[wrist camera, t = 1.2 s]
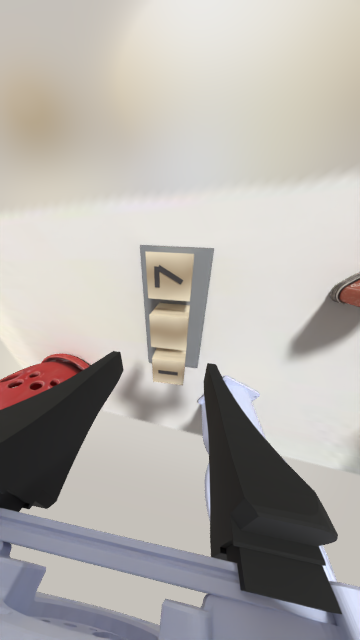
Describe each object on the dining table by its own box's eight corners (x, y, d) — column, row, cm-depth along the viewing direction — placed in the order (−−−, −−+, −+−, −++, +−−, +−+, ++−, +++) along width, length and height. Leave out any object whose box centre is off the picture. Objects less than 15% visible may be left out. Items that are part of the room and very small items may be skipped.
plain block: (187, 332, 21) (185, 350, 17) (159, 329, 21) (151, 346, 17) (190, 305, 19) (188, 318, 15) (159, 302, 19) (149, 315, 15)
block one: (185, 363, 24) (182, 385, 20) (160, 360, 24) (153, 381, 20) (186, 342, 22) (184, 362, 18) (160, 339, 22) (151, 359, 18)
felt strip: (197, 366, 24) (197, 368, 24) (149, 360, 25) (148, 362, 24) (213, 248, 16) (214, 248, 15) (141, 245, 17) (139, 245, 16)
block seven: (191, 291, 18) (189, 301, 14) (158, 289, 18) (147, 298, 14) (194, 254, 16) (193, 253, 12) (157, 252, 16) (145, 251, 12)
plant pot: (98, 351, 25) (27, 421, 15) (106, 395, 31) (59, 467, 20) (35, 340, 26) (-79, 398, 15) (54, 384, 32) (-18, 450, 21)
